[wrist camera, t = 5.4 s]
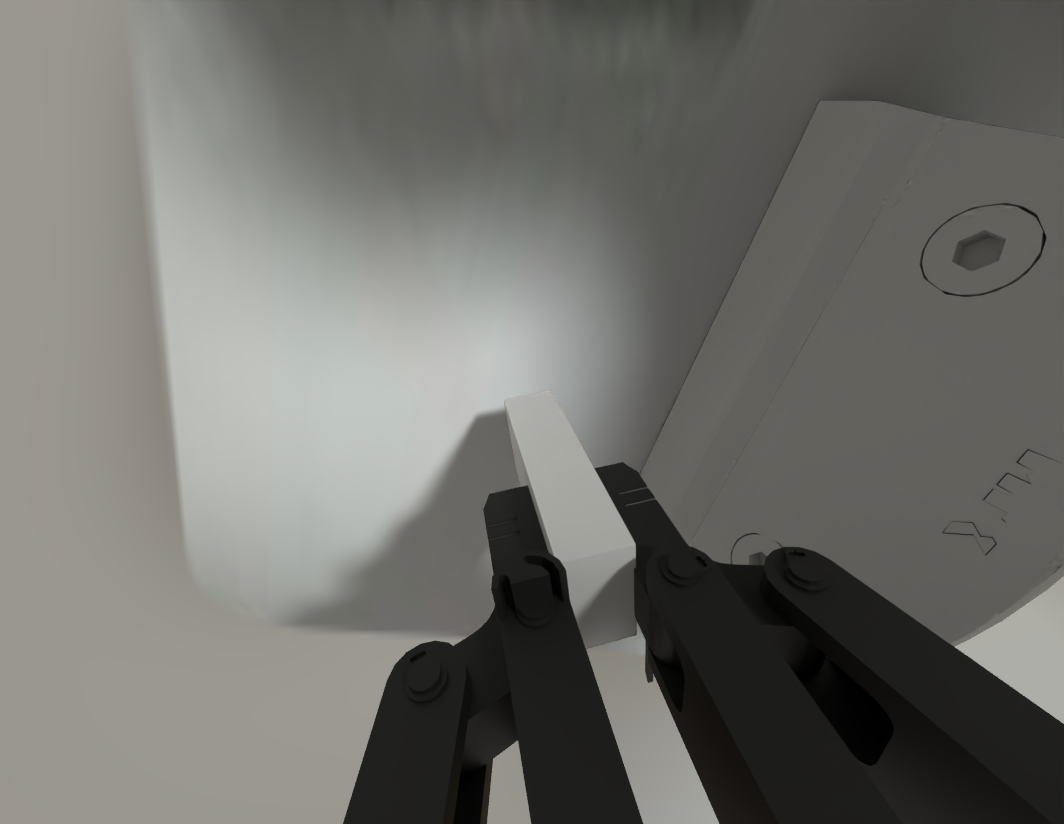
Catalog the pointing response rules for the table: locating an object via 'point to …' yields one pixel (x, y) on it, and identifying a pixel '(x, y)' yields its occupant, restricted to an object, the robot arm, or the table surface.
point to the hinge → (889, 370)
